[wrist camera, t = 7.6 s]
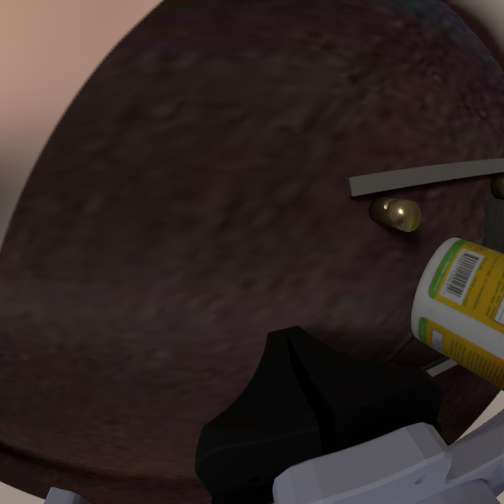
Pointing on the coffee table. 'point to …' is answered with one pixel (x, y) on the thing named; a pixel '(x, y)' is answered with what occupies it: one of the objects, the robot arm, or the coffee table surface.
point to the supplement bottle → (463, 307)
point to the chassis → (409, 214)
